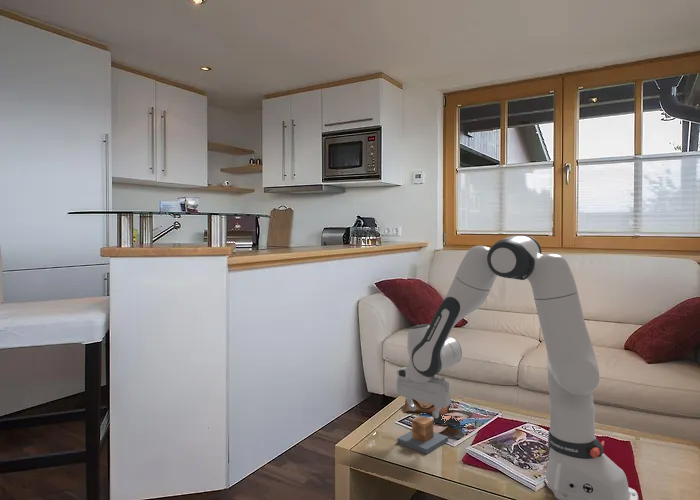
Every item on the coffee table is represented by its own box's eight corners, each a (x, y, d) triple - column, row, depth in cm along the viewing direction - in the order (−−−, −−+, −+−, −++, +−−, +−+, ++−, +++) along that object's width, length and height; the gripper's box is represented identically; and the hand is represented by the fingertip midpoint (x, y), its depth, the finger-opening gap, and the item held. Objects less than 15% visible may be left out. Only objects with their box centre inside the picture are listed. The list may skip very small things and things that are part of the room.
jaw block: (433, 437, 158) (433, 419, 157) (424, 442, 154) (424, 424, 154) (421, 432, 161) (421, 415, 161) (412, 437, 158) (411, 420, 158)
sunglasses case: (401, 412, 183) (402, 395, 186) (404, 415, 189) (405, 398, 192) (448, 417, 177) (449, 399, 180) (450, 420, 183) (450, 402, 186)
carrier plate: (448, 441, 158) (448, 428, 158) (426, 454, 149) (426, 440, 149) (419, 430, 166) (419, 418, 166) (397, 442, 158) (397, 429, 158)
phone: (435, 414, 179) (476, 417, 174) (435, 417, 179) (476, 420, 174) (432, 422, 171) (475, 426, 167) (432, 425, 171) (475, 429, 167)
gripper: (454, 376, 152) (456, 418, 152) (404, 365, 166) (406, 404, 167) (442, 381, 147) (444, 425, 148) (392, 369, 162) (394, 409, 162)
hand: (424, 413), depth 157 cm, fingers open, 8 cm apart
